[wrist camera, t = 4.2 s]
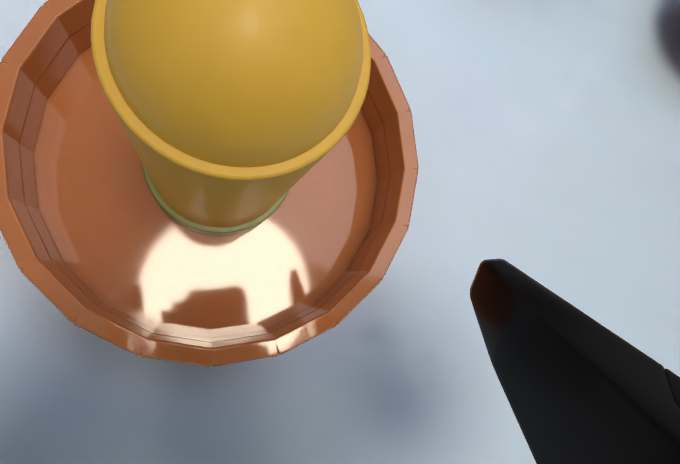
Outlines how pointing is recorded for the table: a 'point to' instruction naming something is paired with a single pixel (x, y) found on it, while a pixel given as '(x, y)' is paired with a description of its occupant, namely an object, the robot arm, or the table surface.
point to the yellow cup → (230, 97)
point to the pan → (171, 238)
